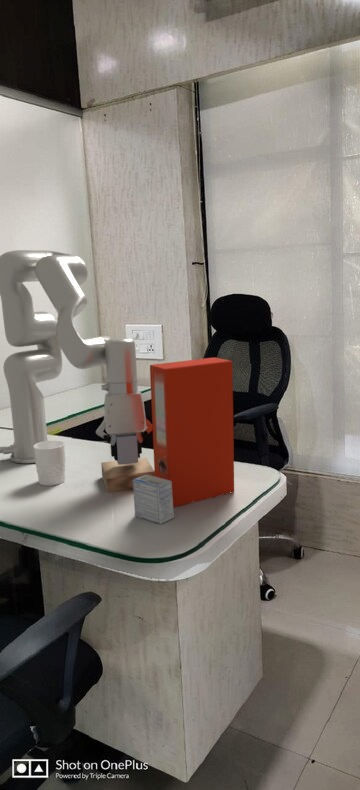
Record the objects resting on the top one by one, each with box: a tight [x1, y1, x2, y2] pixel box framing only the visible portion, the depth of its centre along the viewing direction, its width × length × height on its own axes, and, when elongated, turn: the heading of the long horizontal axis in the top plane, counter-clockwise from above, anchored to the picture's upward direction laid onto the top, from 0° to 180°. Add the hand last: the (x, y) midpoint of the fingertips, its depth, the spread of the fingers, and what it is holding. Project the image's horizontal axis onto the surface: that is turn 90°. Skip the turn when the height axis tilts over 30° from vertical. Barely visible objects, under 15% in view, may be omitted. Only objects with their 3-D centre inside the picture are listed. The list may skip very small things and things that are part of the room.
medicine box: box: [132, 475, 175, 525], centre depth 133 cm, size 8×4×9 cm, turn 48°
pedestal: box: [100, 457, 155, 493], centre depth 157 cm, size 12×12×4 cm
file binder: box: [149, 357, 235, 508], centre depth 143 cm, size 8×17×32 cm, turn 119°
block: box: [115, 433, 139, 465], centre depth 155 cm, size 5×5×7 cm
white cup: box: [33, 440, 66, 487], centre depth 159 cm, size 8×8×10 cm
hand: (126, 457), depth 156 cm, fingers closed on block, 5 cm apart
